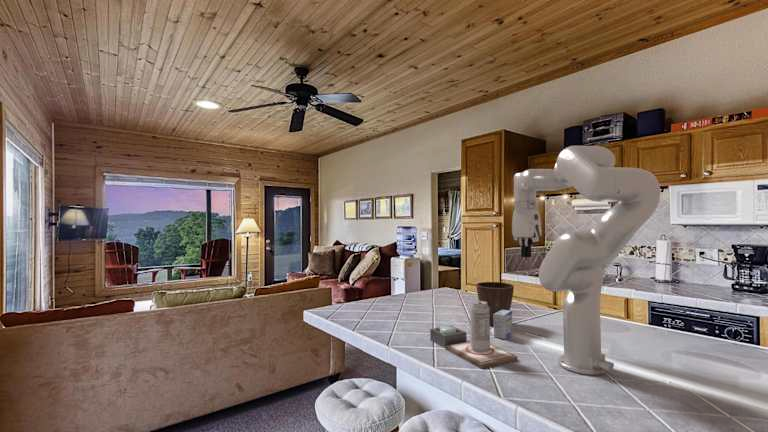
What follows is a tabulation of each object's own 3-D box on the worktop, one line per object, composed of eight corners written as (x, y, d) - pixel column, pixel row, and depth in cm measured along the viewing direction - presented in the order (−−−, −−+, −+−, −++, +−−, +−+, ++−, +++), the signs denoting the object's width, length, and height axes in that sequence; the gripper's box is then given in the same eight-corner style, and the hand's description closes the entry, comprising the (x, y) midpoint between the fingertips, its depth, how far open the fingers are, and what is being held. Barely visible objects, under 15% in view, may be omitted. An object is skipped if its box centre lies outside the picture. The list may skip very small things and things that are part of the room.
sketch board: (517, 360, 111) (517, 355, 111) (481, 368, 106) (481, 363, 106) (478, 342, 128) (478, 338, 128) (445, 349, 122) (445, 344, 122)
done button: (459, 338, 128) (459, 329, 128) (446, 340, 125) (445, 332, 125) (450, 333, 133) (450, 325, 133) (436, 336, 130) (436, 327, 130)
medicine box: (505, 339, 131) (505, 315, 131) (493, 337, 133) (493, 313, 133) (512, 333, 137) (512, 310, 137) (501, 331, 140) (500, 309, 140)
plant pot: (486, 317, 161) (485, 280, 161) (520, 322, 151) (519, 283, 151) (470, 324, 149) (469, 285, 149) (506, 331, 140) (505, 289, 140)
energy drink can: (486, 346, 120) (485, 300, 120) (492, 352, 114) (491, 304, 114) (468, 346, 119) (467, 300, 120) (473, 353, 113) (472, 304, 114)
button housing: (466, 343, 127) (466, 332, 127) (444, 347, 123) (444, 336, 123) (451, 336, 135) (451, 325, 135) (430, 340, 131) (430, 328, 131)
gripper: (549, 205, 127) (550, 258, 127) (517, 207, 141) (518, 254, 141) (534, 205, 124) (535, 259, 124) (502, 207, 138) (503, 256, 138)
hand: (526, 257), depth 132 cm, fingers closed
